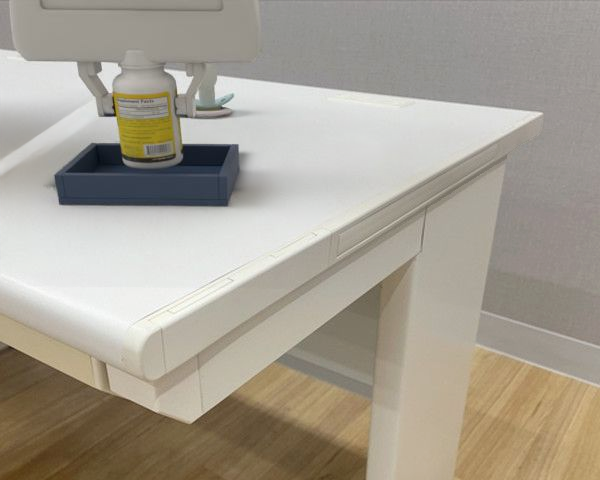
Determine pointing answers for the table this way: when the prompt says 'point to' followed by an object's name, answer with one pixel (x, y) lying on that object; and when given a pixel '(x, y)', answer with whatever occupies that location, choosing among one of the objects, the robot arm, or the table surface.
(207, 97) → the pacifier
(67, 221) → the table surface
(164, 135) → the supplement bottle
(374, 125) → the table surface
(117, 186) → the tray
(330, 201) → the table surface
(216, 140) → the table surface
